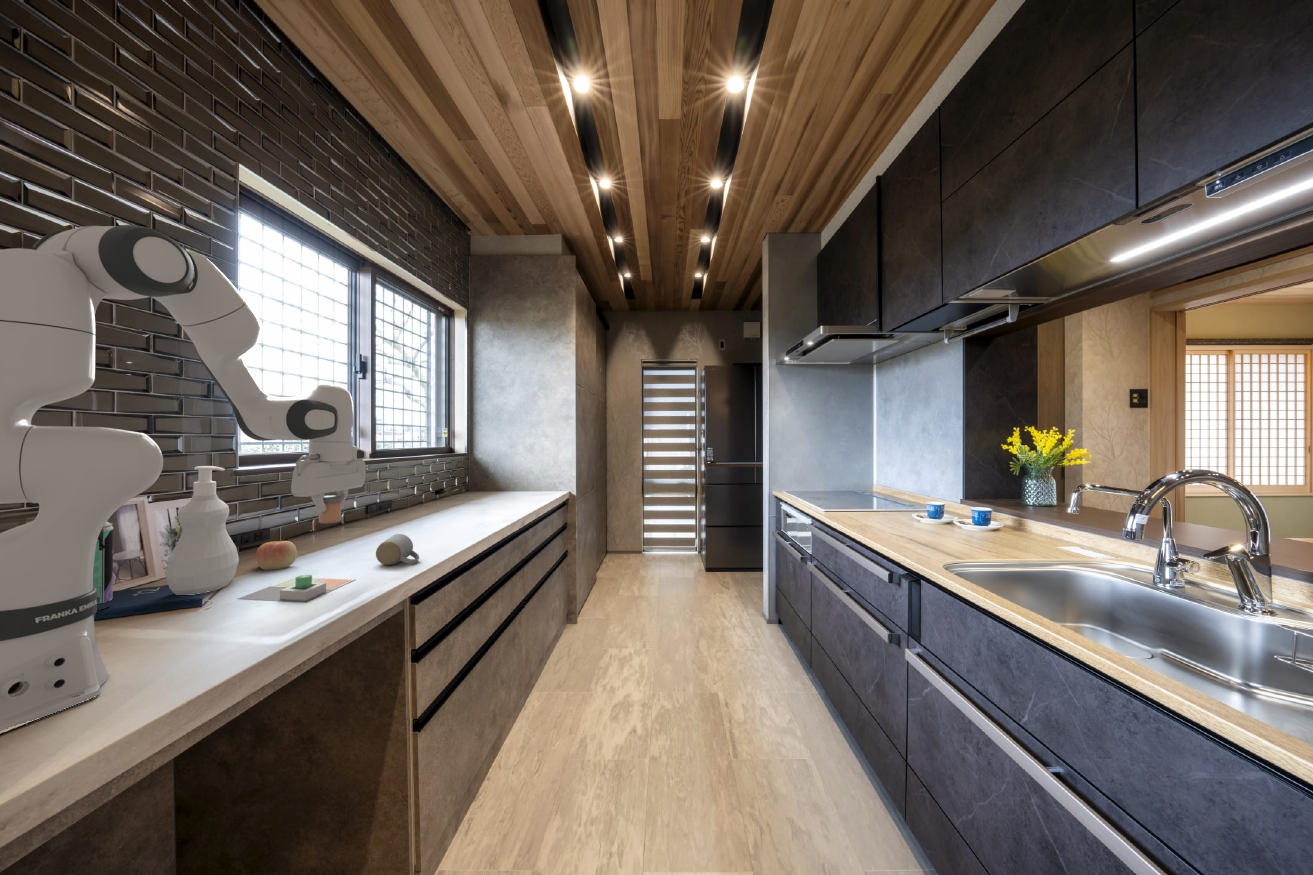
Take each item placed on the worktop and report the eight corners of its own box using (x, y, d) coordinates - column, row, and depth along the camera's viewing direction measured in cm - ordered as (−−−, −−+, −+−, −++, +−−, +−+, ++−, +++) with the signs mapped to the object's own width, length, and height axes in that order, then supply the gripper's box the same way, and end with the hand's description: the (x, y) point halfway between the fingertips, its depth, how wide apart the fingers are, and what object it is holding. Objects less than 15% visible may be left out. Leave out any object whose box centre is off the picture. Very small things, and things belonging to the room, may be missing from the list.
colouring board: (306, 607, 105) (306, 593, 105) (236, 604, 106) (236, 589, 106) (356, 584, 121) (356, 571, 121) (295, 581, 122) (295, 568, 122)
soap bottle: (215, 602, 107) (216, 469, 106) (147, 607, 103) (149, 469, 103) (250, 579, 123) (252, 463, 122) (193, 582, 119) (194, 463, 118)
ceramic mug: (373, 566, 137) (374, 539, 136) (386, 558, 145) (387, 533, 145) (412, 567, 138) (413, 540, 137) (423, 559, 146) (424, 534, 146)
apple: (255, 577, 125) (255, 546, 124) (255, 568, 131) (256, 539, 131) (297, 571, 130) (297, 542, 130) (295, 563, 137) (296, 535, 137)
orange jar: (332, 523, 115) (332, 498, 115) (313, 522, 115) (314, 497, 115) (345, 520, 119) (346, 495, 119) (327, 519, 120) (328, 495, 119)
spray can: (120, 604, 104) (120, 512, 104) (87, 614, 99) (88, 516, 98) (97, 603, 105) (98, 510, 104) (64, 612, 99) (65, 515, 99)
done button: (304, 589, 108) (304, 579, 108) (291, 589, 108) (292, 578, 108) (315, 585, 111) (315, 575, 111) (302, 584, 111) (302, 574, 111)
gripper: (310, 456, 106) (309, 518, 107) (370, 451, 127) (369, 504, 127) (283, 455, 107) (282, 517, 107) (347, 450, 127) (346, 503, 127)
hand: (330, 510), depth 117 cm, fingers closed on orange jar, 4 cm apart
